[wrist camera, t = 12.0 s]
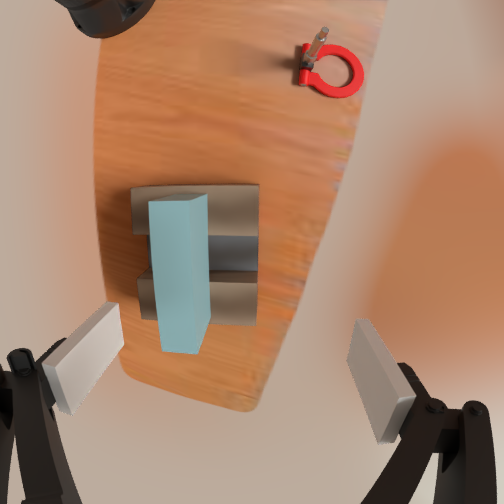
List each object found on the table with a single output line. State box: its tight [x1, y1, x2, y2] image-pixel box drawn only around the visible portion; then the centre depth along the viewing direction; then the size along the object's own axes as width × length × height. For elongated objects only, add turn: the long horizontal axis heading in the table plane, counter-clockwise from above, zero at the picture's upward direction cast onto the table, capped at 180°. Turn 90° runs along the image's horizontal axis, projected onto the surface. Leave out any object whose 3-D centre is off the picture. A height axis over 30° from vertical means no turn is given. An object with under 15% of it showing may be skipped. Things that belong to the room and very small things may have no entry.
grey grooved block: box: [131, 184, 259, 326], centre depth 41 cm, size 18×16×6 cm
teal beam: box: [149, 194, 211, 354], centre depth 34 cm, size 16×4×9 cm, turn 179°
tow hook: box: [299, 27, 364, 98], centre depth 31 cm, size 8×13×9 cm
